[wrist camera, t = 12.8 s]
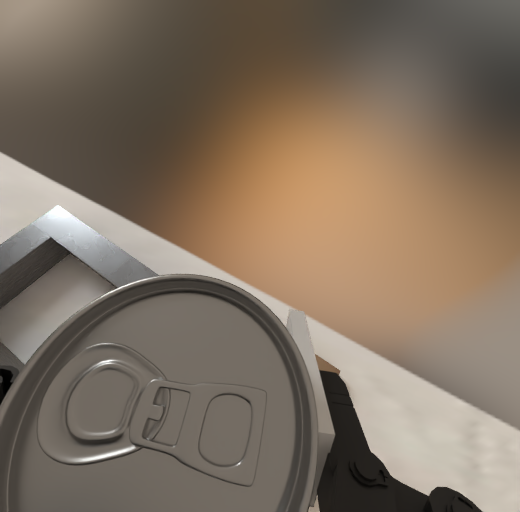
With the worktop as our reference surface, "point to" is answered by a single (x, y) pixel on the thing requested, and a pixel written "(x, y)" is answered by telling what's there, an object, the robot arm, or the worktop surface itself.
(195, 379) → the can
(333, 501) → the robot arm
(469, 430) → the worktop surface
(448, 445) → the worktop surface
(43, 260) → the steel collar
